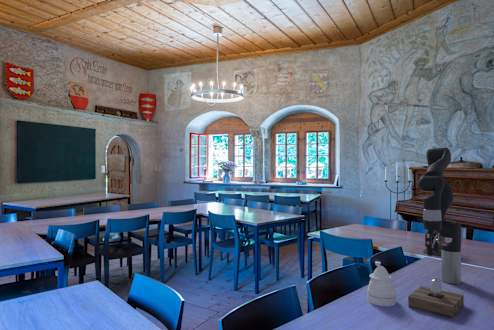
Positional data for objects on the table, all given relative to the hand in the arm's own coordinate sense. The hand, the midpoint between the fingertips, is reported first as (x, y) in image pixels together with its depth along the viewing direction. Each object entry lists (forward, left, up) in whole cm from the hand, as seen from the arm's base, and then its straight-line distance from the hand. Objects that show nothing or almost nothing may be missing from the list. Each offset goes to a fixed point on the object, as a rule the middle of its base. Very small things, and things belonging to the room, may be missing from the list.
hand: (433, 253), depth 159 cm
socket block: (+2, +1, -23) cm, 23 cm away
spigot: (+2, +1, -22) cm, 22 cm away
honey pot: (+12, -20, -24) cm, 33 cm away
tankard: (-103, -27, -24) cm, 109 cm away
